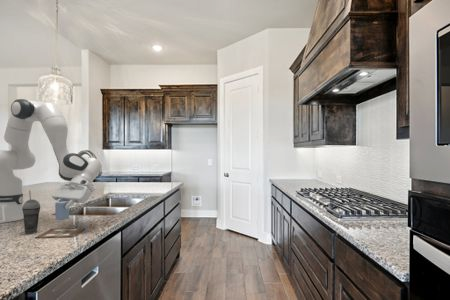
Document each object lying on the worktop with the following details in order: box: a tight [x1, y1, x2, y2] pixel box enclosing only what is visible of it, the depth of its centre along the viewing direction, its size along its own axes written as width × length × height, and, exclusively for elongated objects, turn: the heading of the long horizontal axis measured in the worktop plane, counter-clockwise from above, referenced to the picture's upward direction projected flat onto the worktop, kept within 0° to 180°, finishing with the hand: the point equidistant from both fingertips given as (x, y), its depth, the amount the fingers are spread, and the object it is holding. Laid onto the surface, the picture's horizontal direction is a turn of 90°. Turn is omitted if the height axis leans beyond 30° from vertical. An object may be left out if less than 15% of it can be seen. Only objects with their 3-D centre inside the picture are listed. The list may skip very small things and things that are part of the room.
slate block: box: [54, 201, 70, 222], centre depth 130 cm, size 4×4×8 cm
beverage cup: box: [22, 190, 42, 235], centre depth 131 cm, size 7×7×20 cm
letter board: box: [34, 227, 86, 239], centre depth 130 cm, size 16×14×1 cm
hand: (61, 208), depth 129 cm, fingers closed on slate block, 4 cm apart
